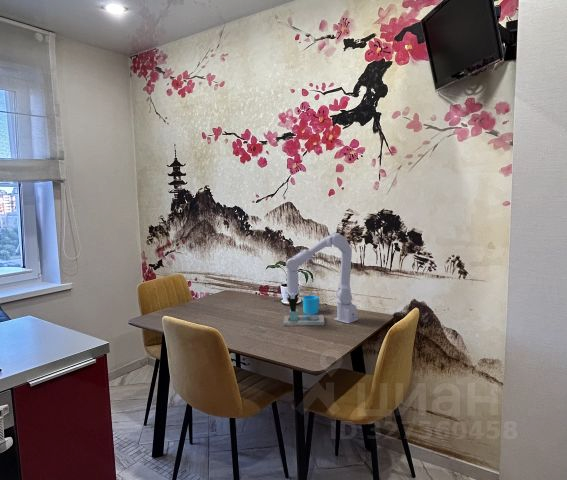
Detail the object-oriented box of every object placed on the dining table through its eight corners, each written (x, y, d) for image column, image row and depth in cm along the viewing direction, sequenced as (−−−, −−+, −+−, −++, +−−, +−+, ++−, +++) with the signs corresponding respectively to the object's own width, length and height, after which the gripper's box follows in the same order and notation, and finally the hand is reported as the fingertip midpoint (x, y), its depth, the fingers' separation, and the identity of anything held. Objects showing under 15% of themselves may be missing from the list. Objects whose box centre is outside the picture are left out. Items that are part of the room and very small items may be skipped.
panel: (323, 317, 205) (323, 315, 205) (324, 325, 195) (324, 322, 194) (284, 318, 206) (284, 315, 206) (283, 325, 196) (283, 322, 195)
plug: (297, 320, 203) (297, 307, 202) (297, 323, 199) (297, 310, 198) (290, 320, 203) (289, 307, 202) (289, 323, 199) (289, 310, 198)
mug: (312, 315, 211) (312, 300, 210) (300, 312, 216) (299, 297, 215) (325, 309, 220) (324, 295, 219) (313, 307, 225) (312, 293, 224)
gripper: (285, 279, 206) (286, 305, 207) (284, 286, 191) (284, 313, 193) (299, 279, 205) (299, 304, 207) (298, 285, 191) (299, 313, 193)
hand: (293, 309), depth 200 cm, fingers open, 7 cm apart
